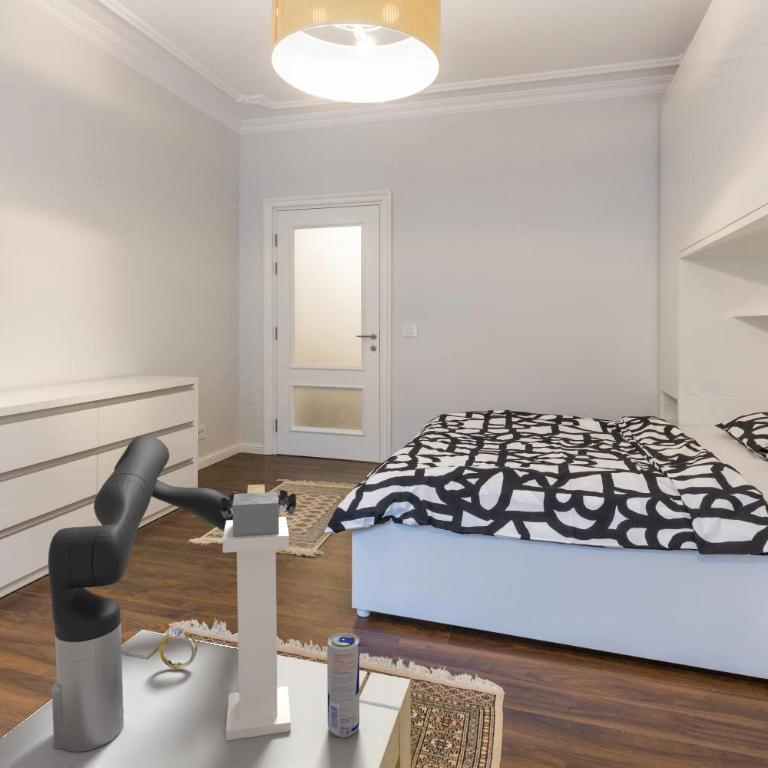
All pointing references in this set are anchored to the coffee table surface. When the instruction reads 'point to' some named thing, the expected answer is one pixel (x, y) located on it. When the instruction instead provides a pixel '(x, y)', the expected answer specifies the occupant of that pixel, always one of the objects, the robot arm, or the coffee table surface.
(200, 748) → the coffee table surface
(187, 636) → the ring
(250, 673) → the stand
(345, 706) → the beverage can
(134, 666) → the coffee table surface
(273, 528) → the hammer
